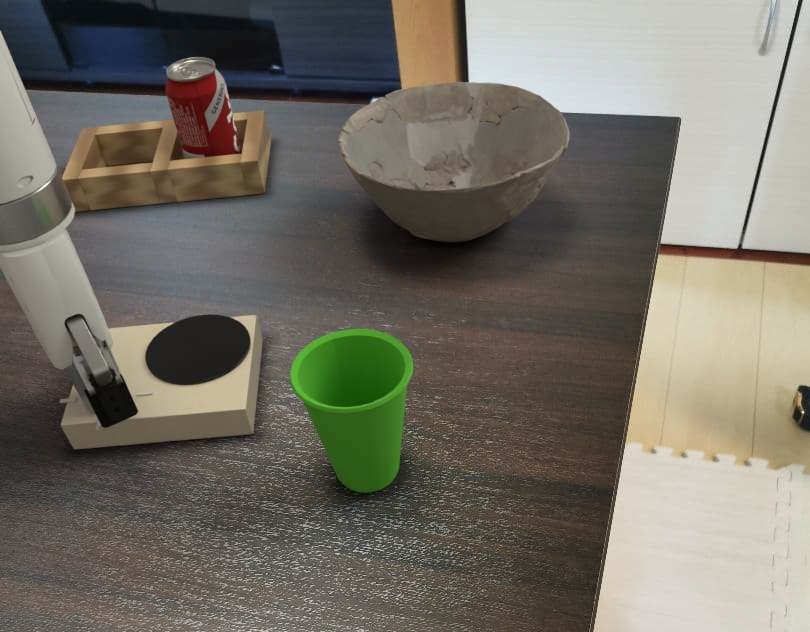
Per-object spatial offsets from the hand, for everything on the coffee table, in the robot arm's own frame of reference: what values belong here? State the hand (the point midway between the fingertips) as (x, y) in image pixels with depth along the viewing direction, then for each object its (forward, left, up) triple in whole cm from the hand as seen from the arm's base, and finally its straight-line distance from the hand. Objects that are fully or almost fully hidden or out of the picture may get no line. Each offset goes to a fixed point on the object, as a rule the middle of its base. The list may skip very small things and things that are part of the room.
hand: (103, 391), depth 73 cm
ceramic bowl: (+33, +27, -4) cm, 43 cm away
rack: (0, +43, -4) cm, 44 cm away
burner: (+8, +5, -1) cm, 9 cm away
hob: (+5, +3, -4) cm, 7 cm away
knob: (0, 0, -1) cm, 1 cm away
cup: (+23, -9, -4) cm, 24 cm away
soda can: (+5, +43, -4) cm, 44 cm away
